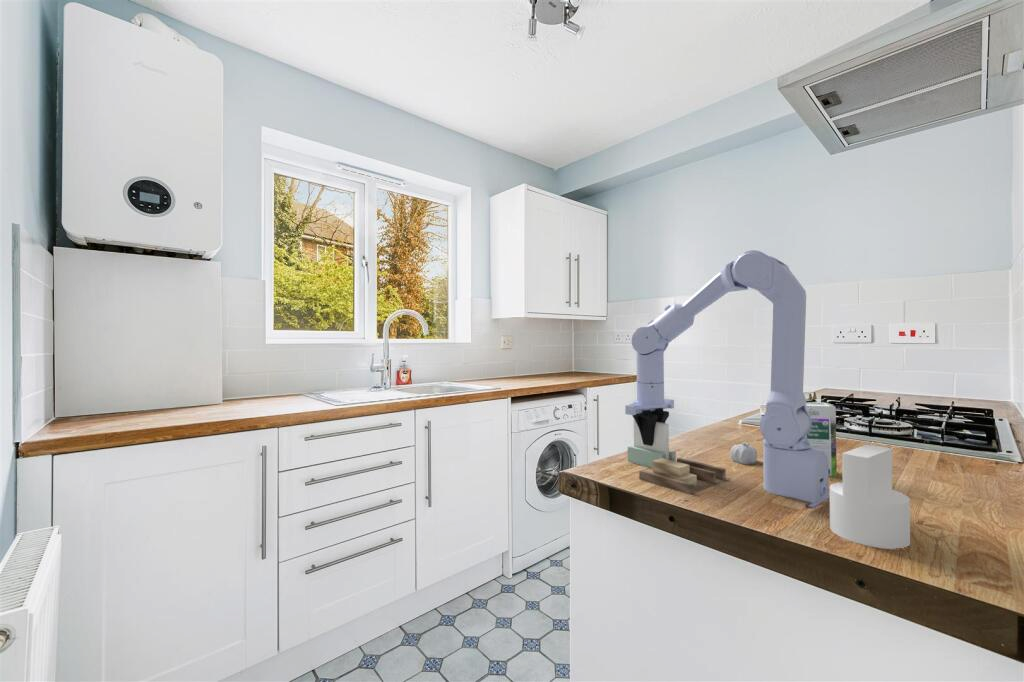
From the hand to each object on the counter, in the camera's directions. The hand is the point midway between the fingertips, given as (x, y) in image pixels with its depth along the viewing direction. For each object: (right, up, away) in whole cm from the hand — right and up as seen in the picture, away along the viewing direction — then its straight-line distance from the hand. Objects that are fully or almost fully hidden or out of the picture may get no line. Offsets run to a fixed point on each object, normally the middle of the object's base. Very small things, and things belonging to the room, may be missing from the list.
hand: (650, 444), depth 98 cm
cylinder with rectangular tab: (+21, -5, -34) cm, 40 cm away
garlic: (+21, -5, +1) cm, 22 cm away
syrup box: (+32, -5, -6) cm, 33 cm away
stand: (0, -5, 0) cm, 5 cm away
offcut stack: (+1, -4, -13) cm, 13 cm away
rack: (+3, -5, -11) cm, 12 cm away
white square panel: (0, -4, 0) cm, 4 cm away
